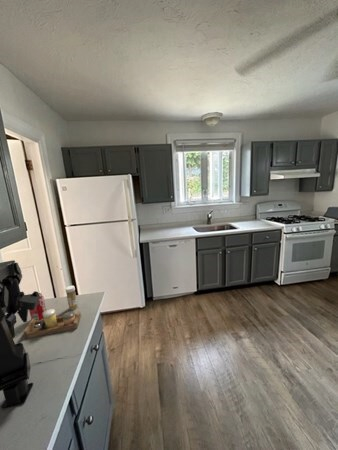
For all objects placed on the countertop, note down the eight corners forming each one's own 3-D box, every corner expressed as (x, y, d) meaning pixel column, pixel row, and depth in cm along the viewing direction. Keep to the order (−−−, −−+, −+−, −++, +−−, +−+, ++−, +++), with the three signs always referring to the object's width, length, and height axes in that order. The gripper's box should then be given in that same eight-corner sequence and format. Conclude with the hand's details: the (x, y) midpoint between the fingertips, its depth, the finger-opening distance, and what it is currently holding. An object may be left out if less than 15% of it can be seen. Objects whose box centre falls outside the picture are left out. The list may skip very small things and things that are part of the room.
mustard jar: (44, 331, 92) (40, 316, 90) (48, 324, 96) (45, 310, 95) (55, 329, 92) (52, 314, 91) (59, 322, 97) (56, 308, 96)
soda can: (46, 320, 101) (41, 297, 99) (29, 324, 99) (24, 301, 96) (48, 312, 108) (44, 291, 105) (33, 316, 105) (28, 294, 103)
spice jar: (74, 326, 94) (73, 317, 93) (62, 328, 93) (60, 319, 92) (77, 319, 99) (75, 310, 98) (65, 321, 98) (64, 312, 97)
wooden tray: (77, 330, 93) (76, 321, 92) (25, 340, 88) (23, 331, 88) (81, 318, 101) (80, 310, 101) (34, 326, 97) (32, 318, 96)
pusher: (42, 332, 91) (41, 325, 90) (31, 334, 90) (30, 327, 89) (48, 323, 97) (46, 316, 96) (37, 325, 96) (36, 318, 95)
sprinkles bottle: (78, 309, 109) (75, 287, 106) (69, 313, 106) (65, 290, 104) (77, 306, 113) (73, 284, 110) (68, 309, 110) (64, 287, 108)
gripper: (21, 302, 68) (30, 342, 71) (44, 279, 86) (50, 311, 89) (-16, 308, 66) (-5, 349, 68) (15, 283, 84) (22, 316, 86)
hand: (19, 329), depth 78 cm, fingers open, 9 cm apart
